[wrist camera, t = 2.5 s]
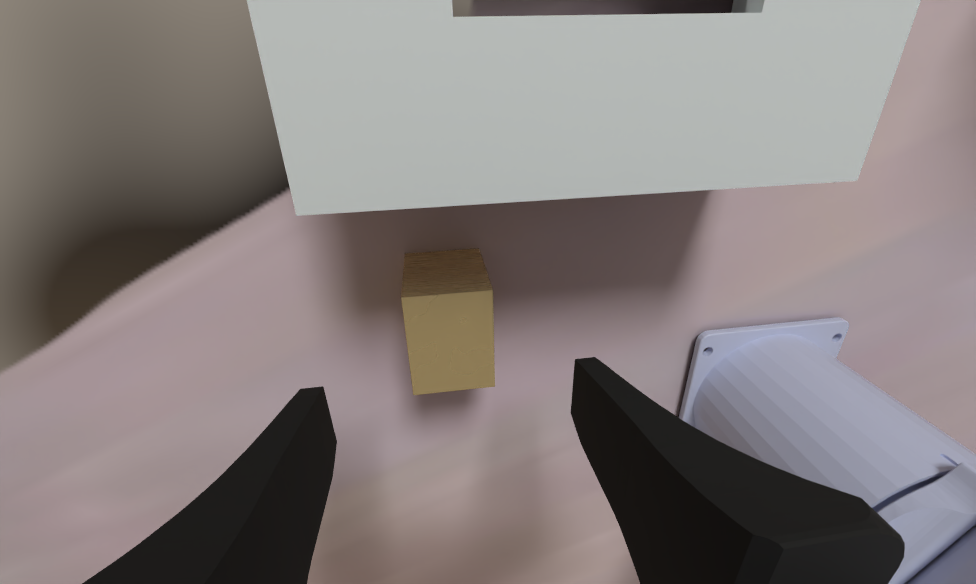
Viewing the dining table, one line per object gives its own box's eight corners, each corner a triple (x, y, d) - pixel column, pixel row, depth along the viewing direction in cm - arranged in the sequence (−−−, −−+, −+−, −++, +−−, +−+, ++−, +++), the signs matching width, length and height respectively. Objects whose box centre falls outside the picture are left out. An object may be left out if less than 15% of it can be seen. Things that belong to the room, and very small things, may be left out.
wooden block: (481, 330, 20) (494, 386, 16) (414, 336, 19) (413, 395, 16) (478, 247, 18) (492, 290, 14) (405, 252, 18) (401, 297, 14)
